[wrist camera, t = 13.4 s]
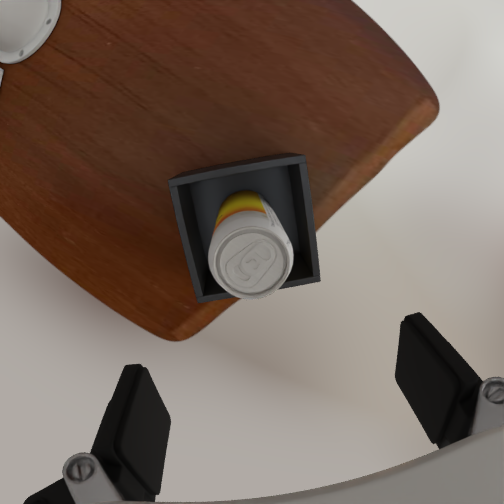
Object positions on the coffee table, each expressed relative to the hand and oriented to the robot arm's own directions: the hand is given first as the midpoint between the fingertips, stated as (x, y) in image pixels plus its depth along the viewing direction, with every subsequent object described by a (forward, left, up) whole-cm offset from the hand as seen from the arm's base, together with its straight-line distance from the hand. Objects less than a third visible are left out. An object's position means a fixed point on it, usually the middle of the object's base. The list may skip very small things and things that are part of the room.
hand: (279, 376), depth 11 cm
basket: (0, 0, -28) cm, 28 cm away
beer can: (0, -1, -27) cm, 27 cm away
